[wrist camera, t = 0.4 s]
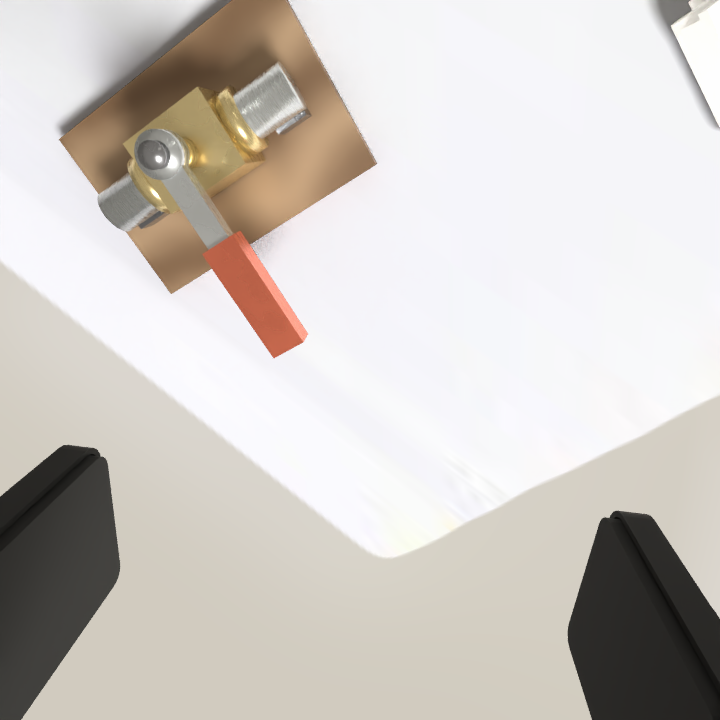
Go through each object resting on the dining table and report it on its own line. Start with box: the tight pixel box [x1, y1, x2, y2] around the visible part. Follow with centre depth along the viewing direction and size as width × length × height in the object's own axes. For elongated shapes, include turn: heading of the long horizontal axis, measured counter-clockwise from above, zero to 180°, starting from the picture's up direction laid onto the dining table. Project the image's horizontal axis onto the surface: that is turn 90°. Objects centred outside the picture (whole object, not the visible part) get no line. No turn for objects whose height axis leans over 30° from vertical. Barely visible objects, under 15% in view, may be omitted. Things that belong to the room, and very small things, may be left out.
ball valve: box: [98, 61, 312, 231], centre depth 36 cm, size 5×16×8 cm, turn 121°
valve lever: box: [134, 129, 308, 358], centre depth 33 cm, size 15×3×2 cm, turn 31°
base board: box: [59, 0, 377, 294], centre depth 40 cm, size 14×20×2 cm
